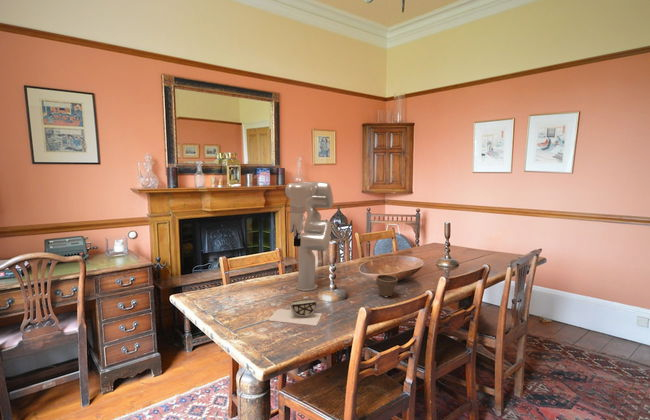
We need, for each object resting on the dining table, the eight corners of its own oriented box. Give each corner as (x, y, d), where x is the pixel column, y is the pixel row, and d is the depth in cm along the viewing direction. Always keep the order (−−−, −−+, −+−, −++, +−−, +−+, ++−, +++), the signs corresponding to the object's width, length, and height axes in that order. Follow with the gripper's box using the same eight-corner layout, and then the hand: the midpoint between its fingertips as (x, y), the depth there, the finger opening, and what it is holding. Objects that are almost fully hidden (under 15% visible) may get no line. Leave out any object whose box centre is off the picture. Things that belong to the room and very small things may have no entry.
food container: (289, 314, 172) (291, 319, 162) (289, 301, 173) (290, 305, 163) (315, 311, 175) (318, 315, 165) (314, 298, 175) (317, 302, 165)
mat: (277, 309, 173) (277, 308, 173) (322, 314, 169) (322, 313, 169) (268, 320, 161) (268, 320, 161) (316, 326, 157) (316, 325, 157)
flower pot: (401, 297, 194) (402, 279, 192) (384, 300, 189) (384, 282, 187) (388, 290, 204) (388, 273, 203) (371, 293, 199) (372, 275, 197)
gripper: (294, 207, 186) (293, 242, 188) (285, 211, 172) (285, 248, 174) (308, 208, 185) (307, 243, 187) (301, 212, 170) (300, 249, 172)
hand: (297, 246), depth 180 cm, fingers closed
